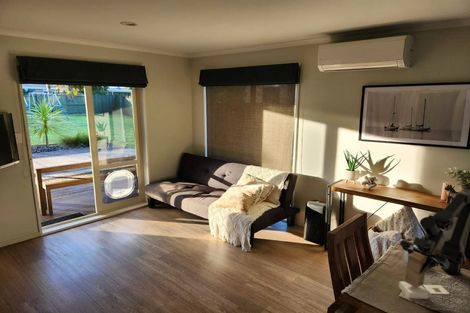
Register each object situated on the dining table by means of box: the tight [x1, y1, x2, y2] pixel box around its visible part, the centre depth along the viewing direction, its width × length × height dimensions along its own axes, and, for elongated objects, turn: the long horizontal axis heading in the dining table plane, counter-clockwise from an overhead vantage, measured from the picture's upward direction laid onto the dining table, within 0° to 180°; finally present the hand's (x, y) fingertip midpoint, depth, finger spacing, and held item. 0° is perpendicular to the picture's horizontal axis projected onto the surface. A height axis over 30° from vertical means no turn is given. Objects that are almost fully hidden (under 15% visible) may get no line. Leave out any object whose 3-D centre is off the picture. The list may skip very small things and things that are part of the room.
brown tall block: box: [404, 252, 427, 288], centre depth 128 cm, size 5×5×13 cm
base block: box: [398, 280, 429, 300], centre depth 130 cm, size 8×8×3 cm
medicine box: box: [403, 244, 418, 264], centre depth 153 cm, size 8×4×9 cm, turn 84°
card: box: [422, 284, 450, 295], centre depth 131 cm, size 8×6×1 cm
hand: (414, 269), depth 127 cm, fingers closed on brown tall block, 5 cm apart
